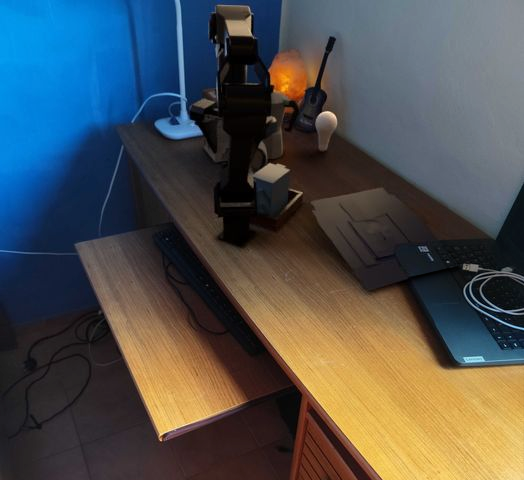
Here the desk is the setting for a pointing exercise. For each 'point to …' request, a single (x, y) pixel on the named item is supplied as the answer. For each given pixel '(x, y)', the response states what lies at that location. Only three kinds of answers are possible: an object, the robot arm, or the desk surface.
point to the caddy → (277, 221)
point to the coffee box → (221, 135)
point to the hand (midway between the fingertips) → (232, 158)
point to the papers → (370, 232)
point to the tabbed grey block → (272, 189)
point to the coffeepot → (279, 123)
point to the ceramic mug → (259, 158)
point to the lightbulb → (325, 128)
